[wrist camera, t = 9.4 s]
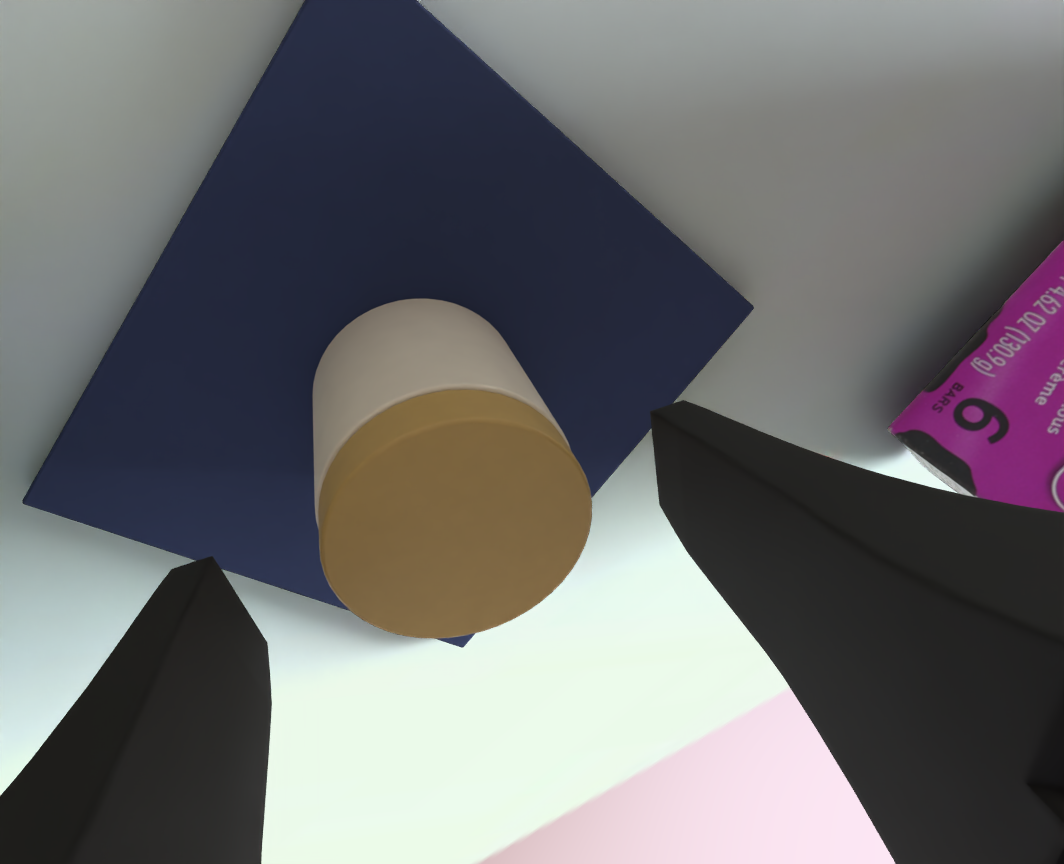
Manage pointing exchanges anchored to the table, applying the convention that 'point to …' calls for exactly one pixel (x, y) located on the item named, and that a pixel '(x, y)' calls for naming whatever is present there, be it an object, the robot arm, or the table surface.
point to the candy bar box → (1000, 402)
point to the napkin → (371, 290)
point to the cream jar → (439, 474)
